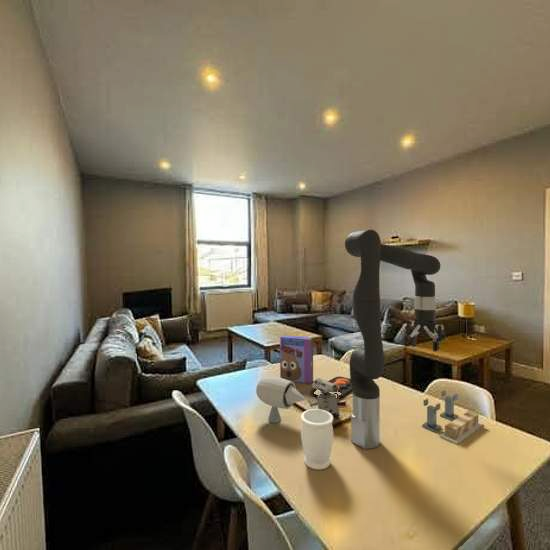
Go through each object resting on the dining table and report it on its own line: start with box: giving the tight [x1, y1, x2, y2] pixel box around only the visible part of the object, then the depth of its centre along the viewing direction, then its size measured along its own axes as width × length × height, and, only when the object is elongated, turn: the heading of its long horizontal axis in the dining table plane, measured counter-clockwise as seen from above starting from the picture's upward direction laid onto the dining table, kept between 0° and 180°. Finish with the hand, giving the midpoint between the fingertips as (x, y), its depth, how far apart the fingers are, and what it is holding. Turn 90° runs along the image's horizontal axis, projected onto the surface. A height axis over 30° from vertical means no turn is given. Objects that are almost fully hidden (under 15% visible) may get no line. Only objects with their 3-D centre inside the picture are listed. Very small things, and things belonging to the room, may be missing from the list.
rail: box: [444, 410, 479, 439], centre depth 117 cm, size 19×4×4 cm, turn 125°
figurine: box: [308, 377, 341, 418], centre depth 129 cm, size 9×12×15 cm
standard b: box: [439, 390, 460, 422], centre depth 128 cm, size 5×5×10 cm
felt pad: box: [439, 421, 484, 445], centre depth 117 cm, size 22×6×1 cm, turn 125°
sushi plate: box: [310, 376, 353, 397], centre depth 152 cm, size 29×30×4 cm
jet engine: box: [255, 376, 306, 423], centre depth 125 cm, size 15×20×18 cm
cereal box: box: [279, 334, 314, 385], centre depth 169 cm, size 17×5×24 cm, turn 67°
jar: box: [300, 408, 334, 471], centre depth 99 cm, size 11×10×15 cm
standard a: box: [421, 398, 442, 433], centre depth 119 cm, size 5×5×10 cm
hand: (424, 348), depth 121 cm, fingers open, 8 cm apart
